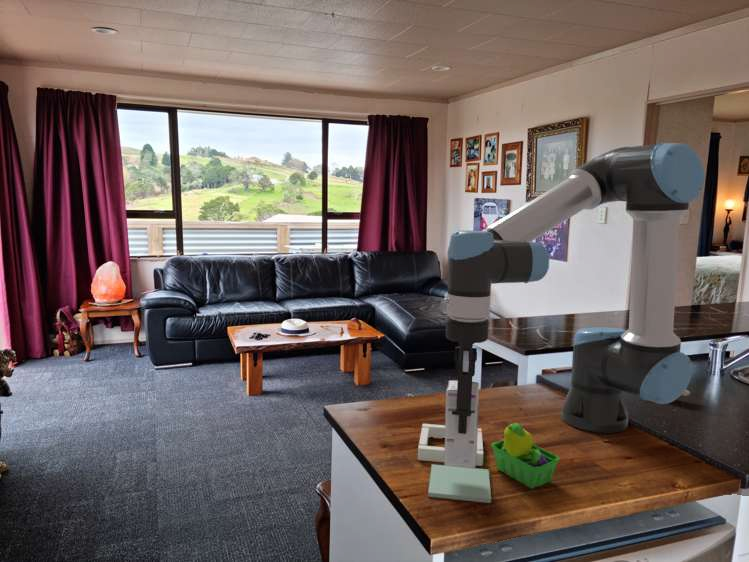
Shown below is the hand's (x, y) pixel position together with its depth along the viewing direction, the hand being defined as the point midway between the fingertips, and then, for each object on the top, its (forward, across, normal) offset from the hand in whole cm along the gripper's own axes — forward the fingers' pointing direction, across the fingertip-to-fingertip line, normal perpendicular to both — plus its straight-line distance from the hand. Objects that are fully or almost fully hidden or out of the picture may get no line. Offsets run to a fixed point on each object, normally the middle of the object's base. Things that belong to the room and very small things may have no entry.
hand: (461, 440), depth 103 cm
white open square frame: (+9, -15, -2) cm, 17 cm away
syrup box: (+4, 0, 0) cm, 4 cm away
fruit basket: (+9, -6, +12) cm, 16 cm away
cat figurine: (+9, -59, +54) cm, 80 cm away
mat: (+9, 0, 0) cm, 9 cm away
